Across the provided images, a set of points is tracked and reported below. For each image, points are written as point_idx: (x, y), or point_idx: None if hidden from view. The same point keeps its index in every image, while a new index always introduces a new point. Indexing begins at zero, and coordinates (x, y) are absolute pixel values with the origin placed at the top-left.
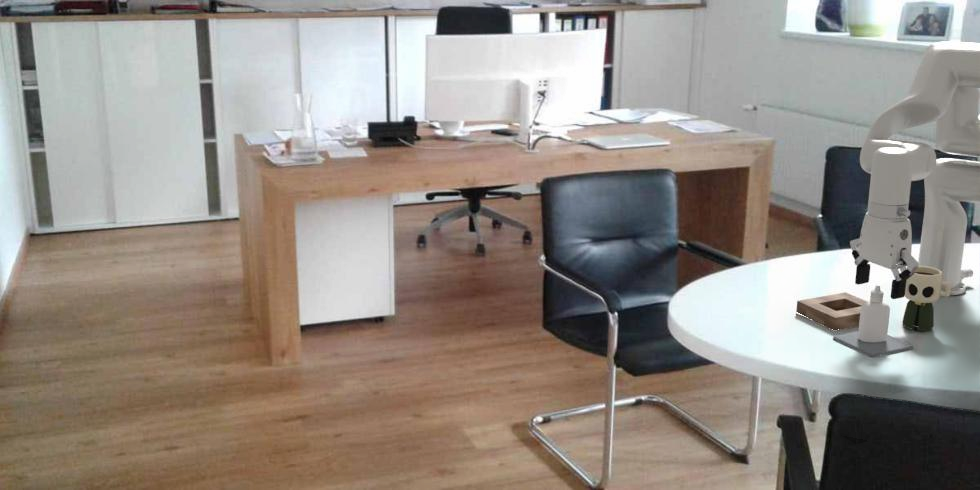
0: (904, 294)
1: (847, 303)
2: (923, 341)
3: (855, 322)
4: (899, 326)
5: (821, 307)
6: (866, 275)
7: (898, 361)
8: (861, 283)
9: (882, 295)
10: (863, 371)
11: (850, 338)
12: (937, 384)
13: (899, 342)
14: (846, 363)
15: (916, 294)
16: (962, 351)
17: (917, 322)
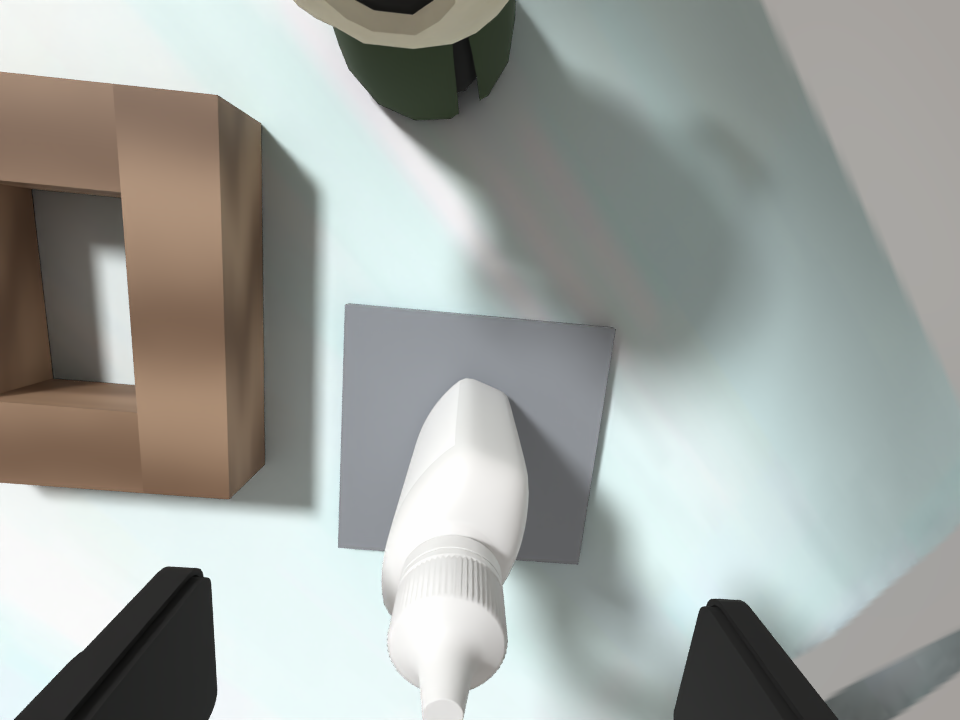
0: (752, 616)
1: (1, 182)
2: (579, 193)
3: (251, 339)
4: (361, 109)
5: (52, 440)
6: (150, 700)
7: (664, 499)
8: (214, 667)
9: (504, 617)
10: (646, 677)
11: (395, 505)
12: (888, 552)
13: (550, 350)
14: (560, 674)
15: (452, 10)
16: (776, 134)
17: (468, 77)
